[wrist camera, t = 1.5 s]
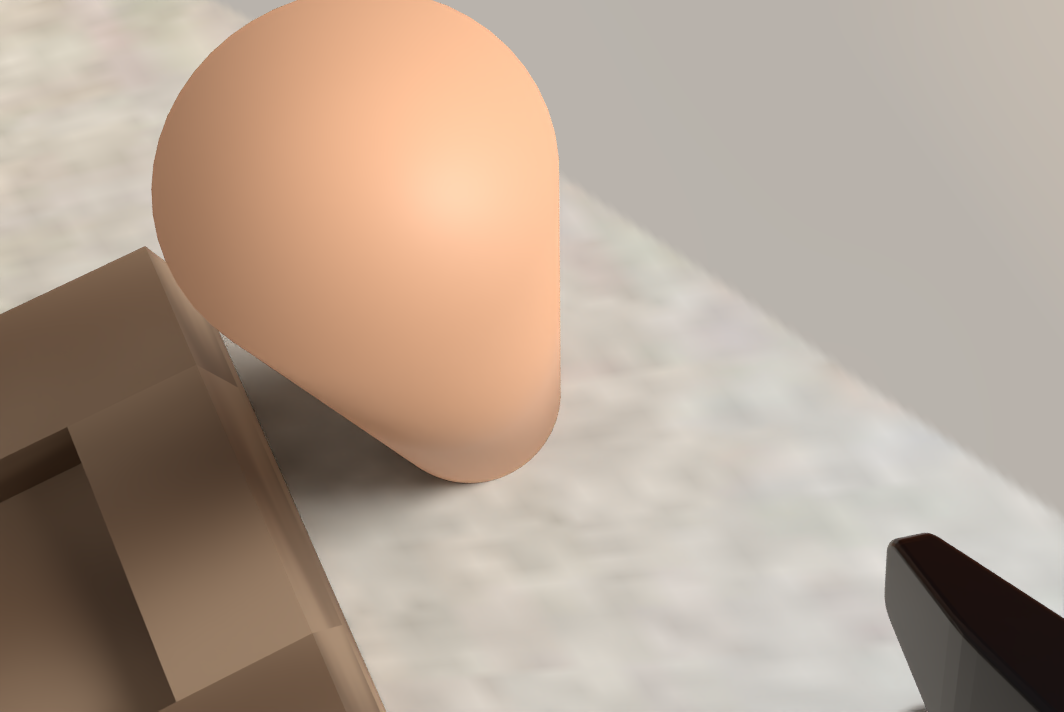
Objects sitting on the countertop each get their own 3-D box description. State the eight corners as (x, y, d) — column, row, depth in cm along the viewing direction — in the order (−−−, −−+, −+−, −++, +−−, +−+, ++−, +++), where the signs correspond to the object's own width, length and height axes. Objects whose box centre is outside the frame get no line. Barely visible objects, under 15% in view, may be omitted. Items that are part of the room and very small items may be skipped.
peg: (592, 432, 22) (630, 259, 9) (427, 514, 21) (246, 447, 9) (511, 276, 22) (451, -73, 10) (352, 353, 22) (91, 93, 10)
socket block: (401, 744, 20) (373, 775, 17) (-99, 1002, 20) (-214, 1079, 17) (199, 287, 22) (145, 246, 20) (-256, 504, 22) (-384, 495, 19)
